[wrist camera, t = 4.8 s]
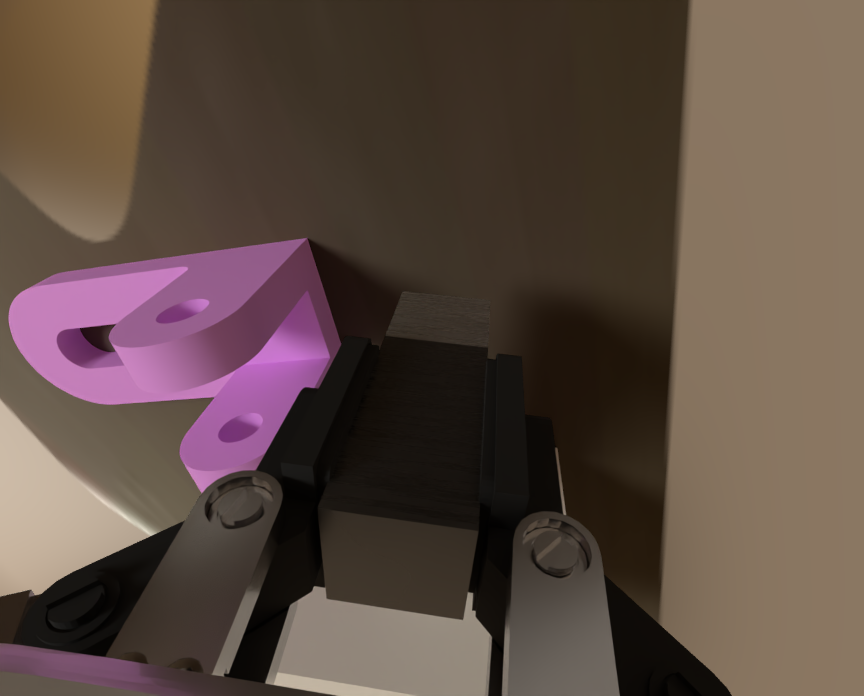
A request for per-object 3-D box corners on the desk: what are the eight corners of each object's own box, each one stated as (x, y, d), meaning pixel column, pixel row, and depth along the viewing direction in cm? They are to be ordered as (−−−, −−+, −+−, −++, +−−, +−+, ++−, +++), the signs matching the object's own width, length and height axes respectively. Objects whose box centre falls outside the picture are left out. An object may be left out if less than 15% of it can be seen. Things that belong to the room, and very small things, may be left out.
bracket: (308, 236, 17) (209, 340, 11) (350, 367, 20) (287, 502, 14) (9, 278, 20) (-196, 380, 14) (84, 388, 23) (-61, 511, 17)
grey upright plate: (402, 290, 14) (317, 508, 7) (490, 300, 13) (478, 530, 7) (394, 568, 20) (347, 800, 14) (451, 577, 20) (429, 816, 14)
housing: (326, 417, 22) (214, 662, 13) (557, 447, 21) (593, 725, 12) (332, 495, 24) (242, 738, 16) (536, 523, 24) (554, 793, 15)
